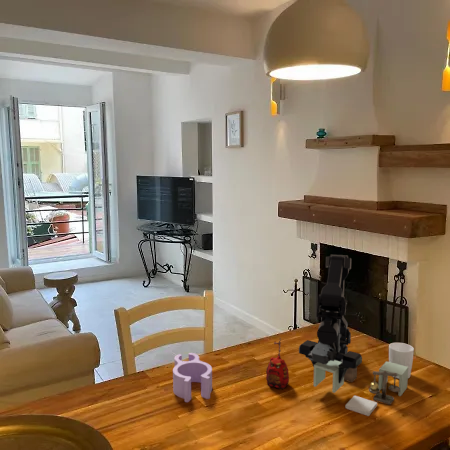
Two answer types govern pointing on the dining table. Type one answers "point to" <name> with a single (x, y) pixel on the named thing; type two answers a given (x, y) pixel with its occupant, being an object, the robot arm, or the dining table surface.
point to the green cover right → (401, 373)
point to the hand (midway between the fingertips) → (328, 379)
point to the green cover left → (330, 367)
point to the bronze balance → (383, 388)
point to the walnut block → (350, 374)
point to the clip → (191, 376)
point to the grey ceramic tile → (361, 405)
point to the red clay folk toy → (277, 372)
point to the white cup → (401, 355)
